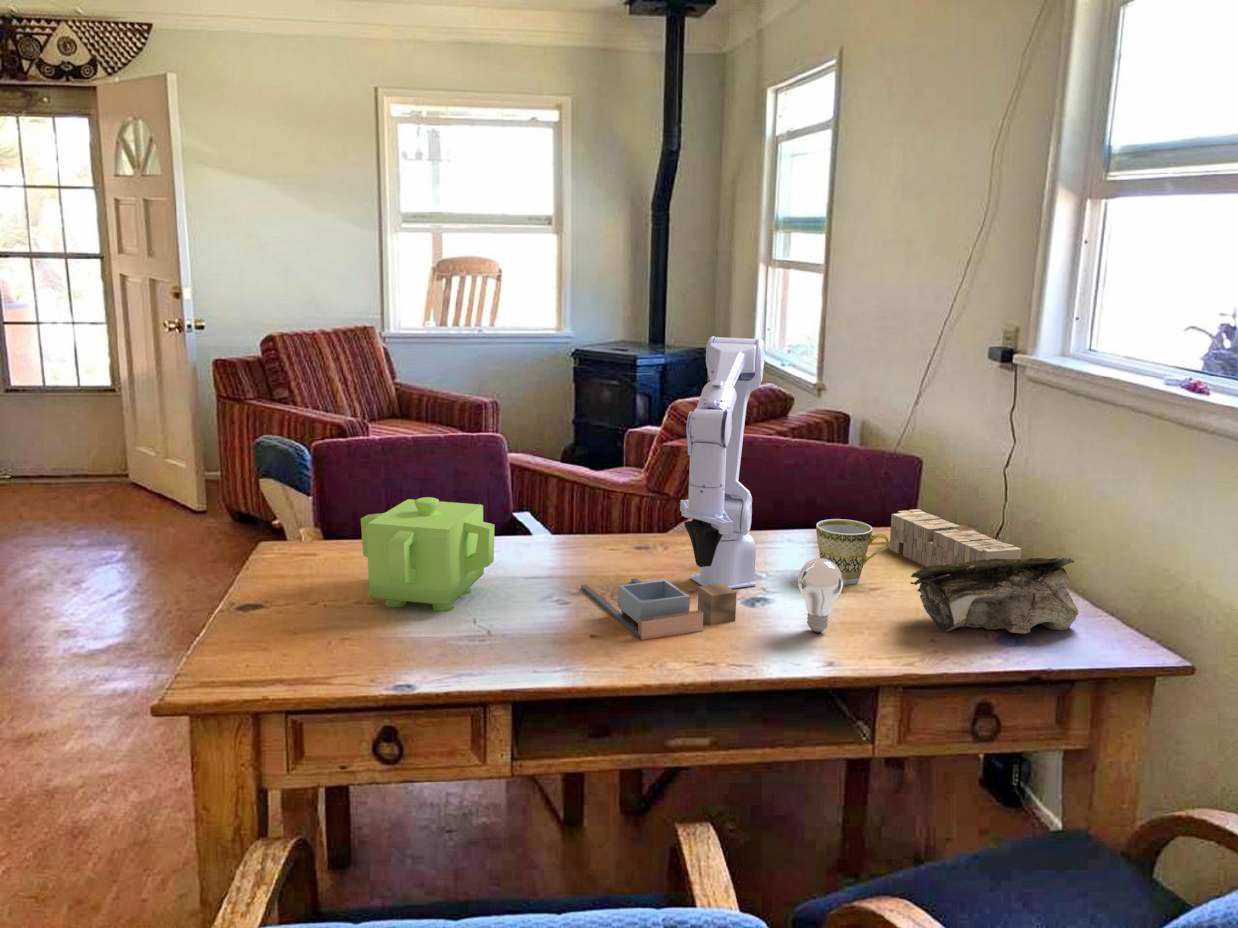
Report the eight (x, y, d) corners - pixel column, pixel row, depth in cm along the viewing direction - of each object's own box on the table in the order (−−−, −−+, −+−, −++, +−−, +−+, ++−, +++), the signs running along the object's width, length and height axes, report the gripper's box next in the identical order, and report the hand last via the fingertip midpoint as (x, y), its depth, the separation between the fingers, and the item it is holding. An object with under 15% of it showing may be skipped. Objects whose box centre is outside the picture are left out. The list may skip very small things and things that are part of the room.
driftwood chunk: (909, 659, 161) (942, 618, 148) (889, 587, 168) (919, 543, 155) (1074, 647, 164) (1119, 607, 152) (1047, 577, 171) (1089, 534, 159)
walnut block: (721, 612, 166) (722, 583, 165) (735, 621, 162) (736, 592, 161) (697, 615, 165) (698, 586, 164) (710, 625, 161) (711, 595, 160)
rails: (636, 581, 180) (636, 565, 180) (702, 630, 158) (703, 612, 157) (581, 588, 176) (581, 571, 176) (641, 640, 154) (641, 621, 153)
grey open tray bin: (664, 605, 168) (665, 579, 167) (688, 623, 160) (689, 596, 159) (617, 612, 164) (618, 585, 163) (639, 630, 157) (640, 602, 156)
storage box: (397, 569, 185) (394, 478, 181) (515, 579, 180) (514, 486, 177) (332, 617, 161) (327, 513, 157) (466, 630, 156) (464, 524, 153)
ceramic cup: (807, 583, 181) (811, 529, 179) (818, 567, 190) (822, 516, 188) (881, 593, 176) (885, 539, 174) (889, 577, 185) (893, 524, 183)
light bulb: (813, 643, 154) (818, 568, 151) (785, 627, 160) (790, 555, 157) (849, 636, 157) (854, 562, 154) (820, 621, 163) (825, 550, 160)
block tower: (884, 552, 204) (982, 595, 177) (886, 512, 203) (986, 548, 176) (916, 548, 207) (1018, 590, 180) (919, 508, 205) (1022, 544, 179)
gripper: (664, 475, 165) (662, 554, 168) (705, 496, 152) (702, 581, 155) (703, 472, 168) (700, 550, 171) (746, 492, 155) (742, 576, 158)
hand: (703, 565), depth 163 cm, fingers closed
